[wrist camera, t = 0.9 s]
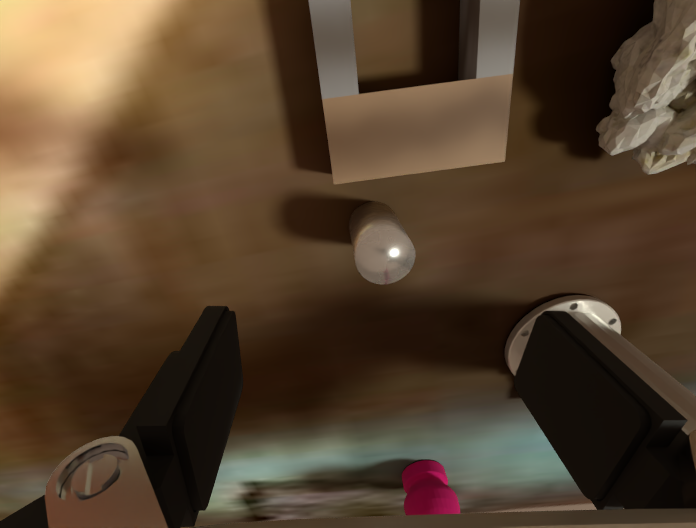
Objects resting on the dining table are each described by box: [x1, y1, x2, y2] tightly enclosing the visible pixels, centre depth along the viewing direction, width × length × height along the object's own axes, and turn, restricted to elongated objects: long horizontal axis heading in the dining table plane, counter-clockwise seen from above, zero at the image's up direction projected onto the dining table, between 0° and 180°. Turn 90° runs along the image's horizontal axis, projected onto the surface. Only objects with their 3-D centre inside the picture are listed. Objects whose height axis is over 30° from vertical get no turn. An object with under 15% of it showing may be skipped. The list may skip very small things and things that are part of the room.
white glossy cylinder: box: [349, 201, 415, 284], centre depth 27 cm, size 4×4×7 cm
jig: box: [309, 0, 520, 184], centre depth 23 cm, size 18×13×4 cm
